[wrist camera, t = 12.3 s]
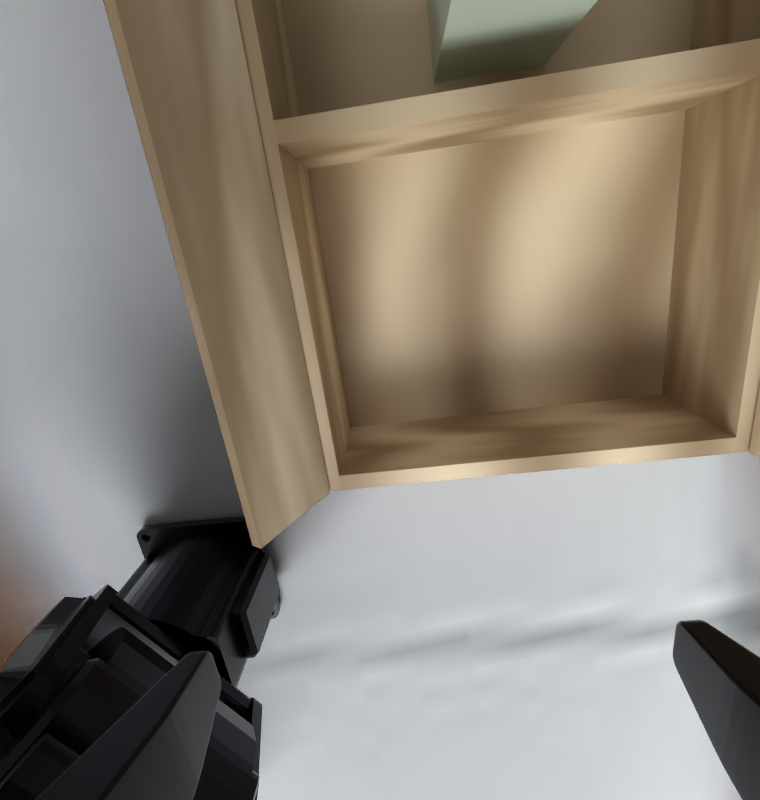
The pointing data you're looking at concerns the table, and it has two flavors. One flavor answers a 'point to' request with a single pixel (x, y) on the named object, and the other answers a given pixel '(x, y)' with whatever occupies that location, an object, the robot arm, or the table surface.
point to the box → (497, 34)
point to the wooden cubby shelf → (455, 239)
